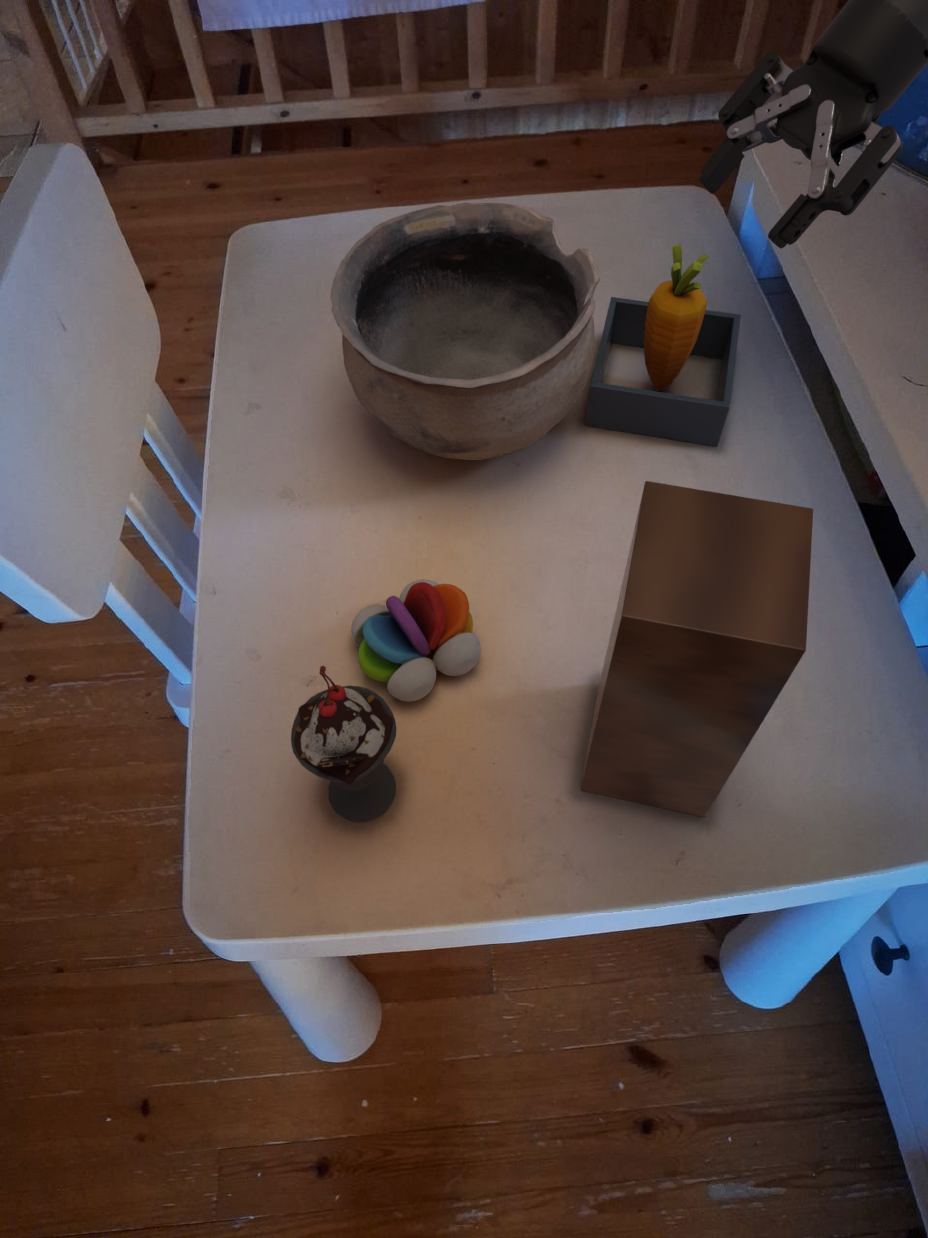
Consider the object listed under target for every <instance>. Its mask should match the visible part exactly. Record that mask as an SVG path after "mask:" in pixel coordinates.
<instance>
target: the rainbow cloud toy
mask: <svg viewBox="0 0 928 1238" xmlns="http://www.w3.org/2000/svg"><path fill="white" fill-rule="evenodd" d="M473 629H474V619H473V616H472V614H471V612H470V602H469V598H468V596H467V594H466V593H465V591H464V590H462V589H461V588H459V587H458V586H456V585H453V584H451V583H437V582H435V581H433V580H432V579H431V580H430V579H424V578H423V579H416V580H413V581H411V582H410V583H408V584H407V585H406V586H404V588H403V589H402V591H400V595H399V596H396V595H390V596H389V597H387V598H386V600H385V604H380V603H378V604H377V603H376V604H375V603H374V604H370V605H367V606H364V607H363V608H362V609H360V610H359V611H358V612H357V613H356V615H355V616H354V618H353V620H352V623H351V628H350V634H351V638H352V641H353V643H354V644H355V645H356V646H357V647H359V648H358V651H357V660H358V661H357V662H358V665H359V668H360V669H361V671H362V672H363V673H364V674H365V675H366V676H367V677H368V678H370V679H372V680H375V681H377V682H384V683H387V685H386V688H387V691H388V693H389V694H390V695H391V696H393V698H396V699H397V700H400V701H403V702H415V701H419V700H421V699H423V698H425V697H426V696H428V694H430V692H431V691H432V689H433V688H434V685H435V683H436V679H437V671H438V672H441V673H442V674H444V675H446V676H452V677H457V676H461V675H465V674H467V673H468V672H470V671H472V669H474V667H475V666H476V665H477V663H478V661H479V660H480V656H481V642H480V640H479V637H478V636H477V634H476V633H474V632H473ZM429 654H431V655H432V659H431V658H430V657H427V656H428V655H429Z"/></svg>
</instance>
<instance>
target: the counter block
mask: <svg viewBox="0 0 928 1238" xmlns="http://www.w3.org/2000/svg"><path fill="white" fill-rule="evenodd" d="M643 485H644V486H643V488H642V489H643V490H642V493H641V498H640V503H639V506H638V511H637V516H636V519H635V520H636V521H635V525H634V528H633V533H632V538H631V543H630V547H629V551H628V556H627V560H626V565H625V569H624V573H623V578H622V582H621V586H620V591H619V594H618V600H617V604H616V608H615V613H614V618H613V622H612V626H611V631H610V635H609V639H608V643H607V649H606V653H605V656H604V661H603V667H602V670H601V675H600V680H599V684H598V689H597V695H596V700H595V706H594V710H593V717H592V723H591V728H590V733H589V738H588V742H587V749H586V754H585V759H584V765H583V771H582V777H581V782H580V787H579V790H580V791H583V792H588V793H592V794H596V795H601V796H606V797H609V798H616V799H619V800H624V801H629V802H633V803H636V804H637V803H639V804H642V805H648V806H652V807H656V808H661V809H666V810H671V811H674V812H678V813H679V812H680V813H684V814H688V815H692V816H698V817H702V818H705V817H706V816H707V814H708V813H709V811H710V810H711V808H712V806H713V805H714V803H715V802H716V799H717V798H718V796H719V794H720V793H721V791H722V789H723V788H724V787H725V785H726V783H727V782H728V780H729V779H730V777H731V775H732V773H733V772H734V770H735V768H736V767H737V765H738V764H739V761H741V759H742V757H743V755H744V754H745V752H746V750H747V748H748V747H749V746H750V743H751V742H752V741H753V739H754V737H755V735H756V733H757V732H758V731H759V729H760V727H761V726H762V724H763V722H764V721H765V719H766V717H767V715H768V714H769V712H770V710H771V709H772V707H773V706H774V704H775V702H776V701H777V699H778V697H779V696H780V694H781V692H782V691H783V690H784V687H785V686H786V684H787V683H788V681H789V679H790V678H791V676H792V674H793V673H794V671H795V669H796V668H797V666H798V664H799V663H800V661H801V660H802V657H803V656H804V654H805V653H806V651H807V641H808V640H807V639H808V620H809V619H808V618H809V601H810V600H809V599H810V583H811V582H810V581H811V579H810V578H811V561H812V560H811V559H812V539H813V521H814V509H813V508H812V507H805V506H799V505H793V504H787V503H782V502H775V501H770V500H764V499H757V498H752V497H745V496H739V495H733V494H727V493H721V492H714V491H710V490H703V489H699V488H698V489H697V488H691V487H687V486H686V487H685V486H680V485H674V484H667V483H662V482H656V481H649V480H645V481H644V484H643Z"/></svg>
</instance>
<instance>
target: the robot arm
mask: <svg viewBox="0 0 928 1238" xmlns="http://www.w3.org/2000/svg"><path fill="white" fill-rule="evenodd" d="M927 66H928V0H848V1H847V2H846V3H845V4H844V5H843V7H842V8H841V10H840V11H839V12H838V13H837V15H836V16H835V17H834V19H832V20H831V22H830V23H829V24H828V26H827V27H826V28H825V30H824V31H823V32H822V34H820V36H819V38H818V39H817V40H816V41H815V43H814V45H813V47H812V49H811V53H810V54H809V56H808V58H807V60H806V61H805V62H804V63H803V64H801V65H800V66H799V67H797V68H796V69H794V70H793V68H791V67H789V66H788V65H787V64H786V63H784V61H783V60H782V58H781V57H780V55H779V53H778V52H777V51H775V50H771V51H769V52H767V53H766V54H765V55H764V57H762V59H761V60H760V61H759V63H758V64H757V65H756V66H755V67H754V68H753V70H752V71H751V72H750V73H749V74H748V76H747V77H746V78H745V79H744V80H743V82H741V84H740V85H739V87H738V88H737V89H736V90H735V91H734V92H733V94H732V95H731V96H730V97H729V98H728V100H727V101H726V102H725V103H724V105H723V106H722V107H721V108H720V109H719V111H718V113H717V116H718V120H719V121H720V122H721V124H722V126H723V128H724V130H725V137H724V138H723V140H722V142H721V143H720V144H719V146H717V148H716V149H715V151H714V152H713V153H712V155H711V156H710V157H709V159H708V160H707V161H706V162H705V164H704V165H703V166H702V169H701V171H700V177H699V180H698V183H699V184H700V185H701V186H702V187H703V188H704V189H705V191H707V192H708V193H709V194H711V195H715V194H716V193H717V192H718V191H719V190H720V188H721V187H722V186H723V185H724V184H725V182H726V181H727V180H728V178H729V177H730V176H731V175H732V173H733V172H734V171H735V170H736V168H737V167H738V166H739V164H740V163H741V162H742V161H743V159H744V158H745V156H746V155H745V154H743V153H745V152H748V151H750V150H752V149H754V148H756V147H759V146H761V145H763V144H774V143H776V142H778V141H781V140H783V142H784V143H785V144H786V145H788V146H789V147H790V148H792V149H795V150H798V151H799V150H800V151H801V153H802V154H803V155H804V157H805V158H806V159H807V160H809V161H810V168H811V170H810V175H809V182H808V187H807V193H806V194H803V193H800V195H798V196H797V198H796V199H795V200H794V201H793V203H792V204H791V205H790V207H788V209H787V210H785V212H784V213H783V214H782V216H781V217H780V218H779V219H778V221H777V222H776V223H775V224H774V225H773V227H772V228H771V229H770V230H769V232H768V235H767V238H768V239H769V240H770V241H771V242H772V244H774V245H775V246H776V247H777V248H778V249H784V248H785V247H786V246H787V245H789V246H791V245H793V244H795V243H796V242H797V241H799V240H800V238H801V237H802V236H803V234H804V233H805V232H806V230H808V229H809V228H810V226H811V225H812V224H813V223H814V221H815V220H817V218H818V217H819V215H821V214H822V213H823V212H826V211H833V212H837V213H838V212H839V213H840V214H841V215H842V216H846V217H847V216H849V215H852V214H853V213H854V212H855V211H856V209H857V208H858V207H859V206H860V204H862V202H863V201H864V200H865V198H866V197H867V196H868V194H869V193H870V192H871V190H872V189H873V188H874V187H875V186H876V184H877V183H878V182H879V180H880V179H881V178H882V177H883V176H884V175H885V173H886V172H887V170H889V168H890V167H891V165H892V164H893V163H894V162H895V161H896V159H897V158H898V157H899V155H900V154H901V153H902V151H903V149H904V148H903V147H904V146H903V143H902V141H901V138H900V136H899V134H898V132H897V131H896V130H895V128H894V126H892V125H886V126H881V125H880V124H877V123H878V120H879V119H880V117H881V115H883V113H884V112H886V111H888V110H890V109H891V108H892V107H893V106H894V104H895V103H896V102H897V101H898V99H900V97H901V96H902V95H903V94H904V92H905V91H906V90H907V89H908V88H909V86H911V84H912V83H913V82H914V81H915V79H916V78H917V77H918V76H919V75H920V74H921V72H922V71H923V70H924V69H925V68H926V67H927ZM781 90H782V92H781ZM780 92H781V96H780V97H779V98H777V99H774V100H772V101H771V102H768V103H766V102H767V101H768V100H769V99H770V98H771V97H772V95H774V94H775V95H778V94H779V93H780ZM765 103H766V104H765ZM775 120H776V122H775ZM862 143H863V144H862ZM859 144H862V147H861V152H862V153H861V154H860V155H859V157H858V158H857V159H856V160H855V161H854V162H853V164H852V166H851V167H850V168H849V169H848V171H847V172H846V173H845V175H844V176H843V177H842V178H841V175H842V168H843V162H844V157H845V152H846V150H848V149H851V148H852V147H854V146H857V145H859ZM840 178H841V179H840ZM838 180H840V181H839V182H838ZM837 183H838V184H837Z"/></svg>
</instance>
